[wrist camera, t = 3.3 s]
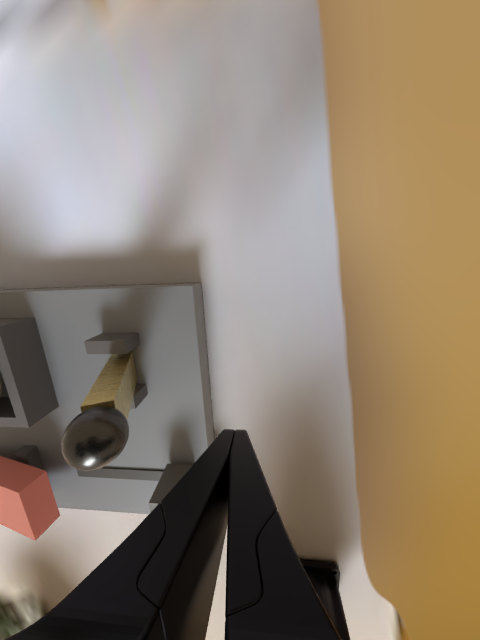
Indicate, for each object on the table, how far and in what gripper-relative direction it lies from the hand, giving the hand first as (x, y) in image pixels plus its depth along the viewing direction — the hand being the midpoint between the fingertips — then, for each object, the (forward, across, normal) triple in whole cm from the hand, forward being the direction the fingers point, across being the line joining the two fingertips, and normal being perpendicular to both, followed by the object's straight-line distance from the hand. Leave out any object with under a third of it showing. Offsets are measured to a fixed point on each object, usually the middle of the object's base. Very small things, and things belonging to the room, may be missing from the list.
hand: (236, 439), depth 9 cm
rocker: (+5, +17, +9) cm, 20 cm away
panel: (+8, +13, +4) cm, 16 cm away
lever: (+6, +8, 0) cm, 10 cm away
